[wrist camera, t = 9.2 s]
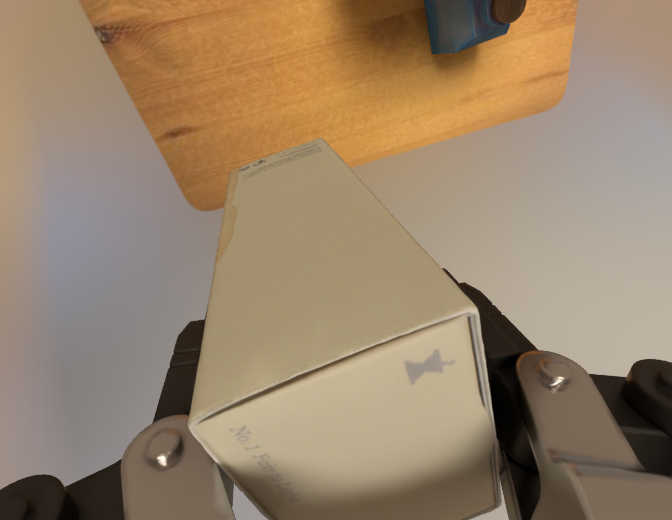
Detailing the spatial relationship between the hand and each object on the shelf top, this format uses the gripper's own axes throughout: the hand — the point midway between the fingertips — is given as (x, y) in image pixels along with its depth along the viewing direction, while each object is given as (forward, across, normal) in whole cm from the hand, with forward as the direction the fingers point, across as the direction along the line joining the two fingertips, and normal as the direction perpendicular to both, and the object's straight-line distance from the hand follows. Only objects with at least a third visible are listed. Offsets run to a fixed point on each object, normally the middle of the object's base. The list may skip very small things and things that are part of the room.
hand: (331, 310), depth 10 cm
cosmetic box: (+8, 0, 0) cm, 8 cm away
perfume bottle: (+41, -23, -10) cm, 48 cm away
